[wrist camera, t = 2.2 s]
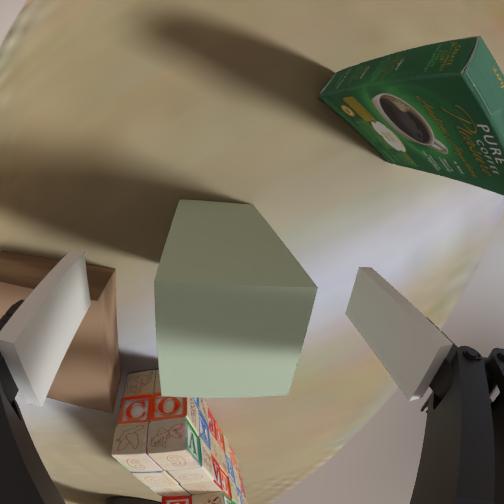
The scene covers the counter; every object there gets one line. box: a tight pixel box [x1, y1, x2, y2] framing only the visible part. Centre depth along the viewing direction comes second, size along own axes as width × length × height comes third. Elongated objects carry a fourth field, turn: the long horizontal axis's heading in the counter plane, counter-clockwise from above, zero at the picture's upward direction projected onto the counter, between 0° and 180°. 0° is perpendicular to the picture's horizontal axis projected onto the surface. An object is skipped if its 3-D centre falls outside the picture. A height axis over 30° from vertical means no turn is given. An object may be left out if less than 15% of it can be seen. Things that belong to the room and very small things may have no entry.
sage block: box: [154, 199, 318, 398], centre depth 15 cm, size 5×5×12 cm
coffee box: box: [319, 36, 504, 195], centre depth 13 cm, size 8×3×13 cm, turn 55°
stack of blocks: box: [111, 369, 247, 504], centre depth 23 cm, size 21×6×12 cm, turn 11°
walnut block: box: [0, 251, 121, 413], centre depth 19 cm, size 11×11×5 cm
